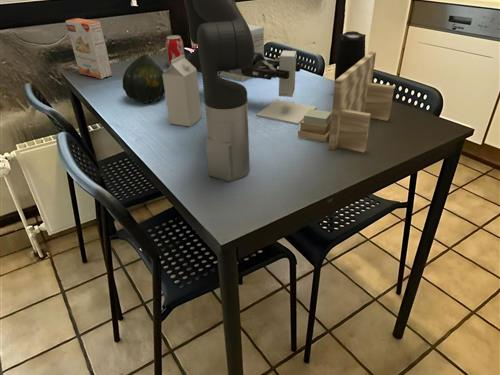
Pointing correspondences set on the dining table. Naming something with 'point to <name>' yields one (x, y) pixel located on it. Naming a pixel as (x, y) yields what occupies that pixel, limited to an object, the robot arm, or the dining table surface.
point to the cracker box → (89, 47)
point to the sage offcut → (317, 117)
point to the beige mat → (285, 111)
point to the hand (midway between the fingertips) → (294, 71)
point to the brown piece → (358, 105)
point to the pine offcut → (314, 136)
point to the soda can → (174, 47)
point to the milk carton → (182, 92)
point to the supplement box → (258, 41)
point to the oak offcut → (315, 128)
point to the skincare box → (289, 65)
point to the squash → (144, 80)
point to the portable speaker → (349, 51)
